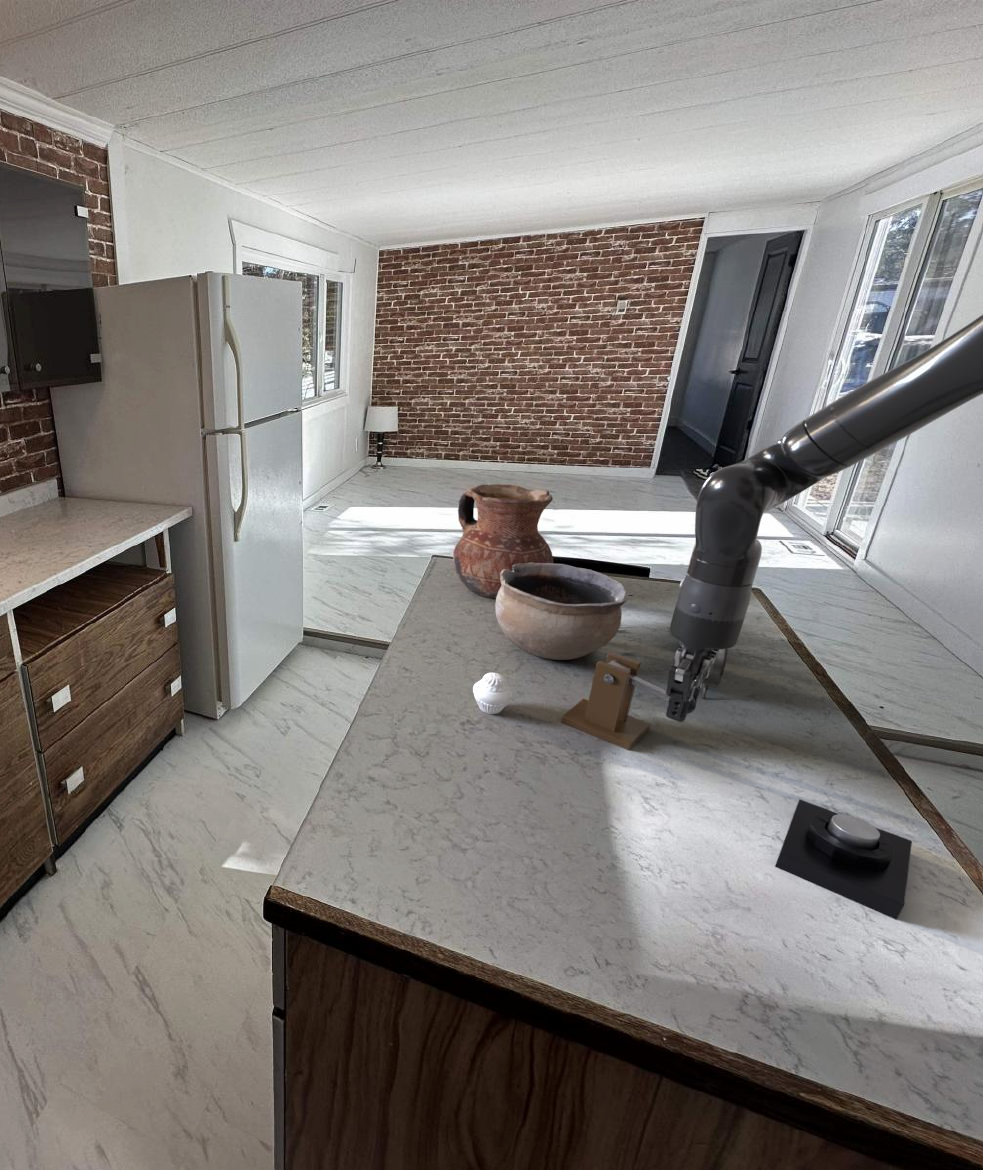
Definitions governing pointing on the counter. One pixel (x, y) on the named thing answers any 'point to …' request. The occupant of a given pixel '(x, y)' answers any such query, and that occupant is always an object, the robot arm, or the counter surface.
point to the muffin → (492, 693)
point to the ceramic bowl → (558, 609)
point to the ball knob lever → (650, 686)
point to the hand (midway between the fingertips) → (679, 713)
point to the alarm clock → (716, 672)
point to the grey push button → (853, 831)
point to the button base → (846, 861)
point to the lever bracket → (609, 705)
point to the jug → (498, 534)
